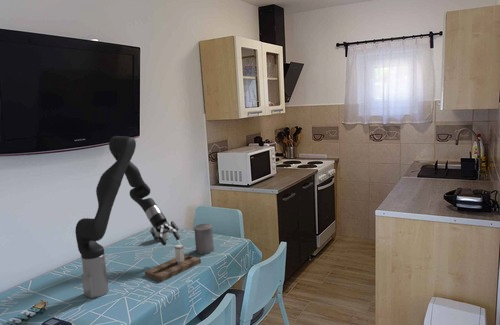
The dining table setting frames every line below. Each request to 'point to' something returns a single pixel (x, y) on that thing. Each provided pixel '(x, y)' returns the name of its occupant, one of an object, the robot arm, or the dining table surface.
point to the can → (164, 235)
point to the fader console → (171, 268)
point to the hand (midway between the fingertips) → (172, 241)
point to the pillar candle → (204, 238)
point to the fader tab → (179, 253)
